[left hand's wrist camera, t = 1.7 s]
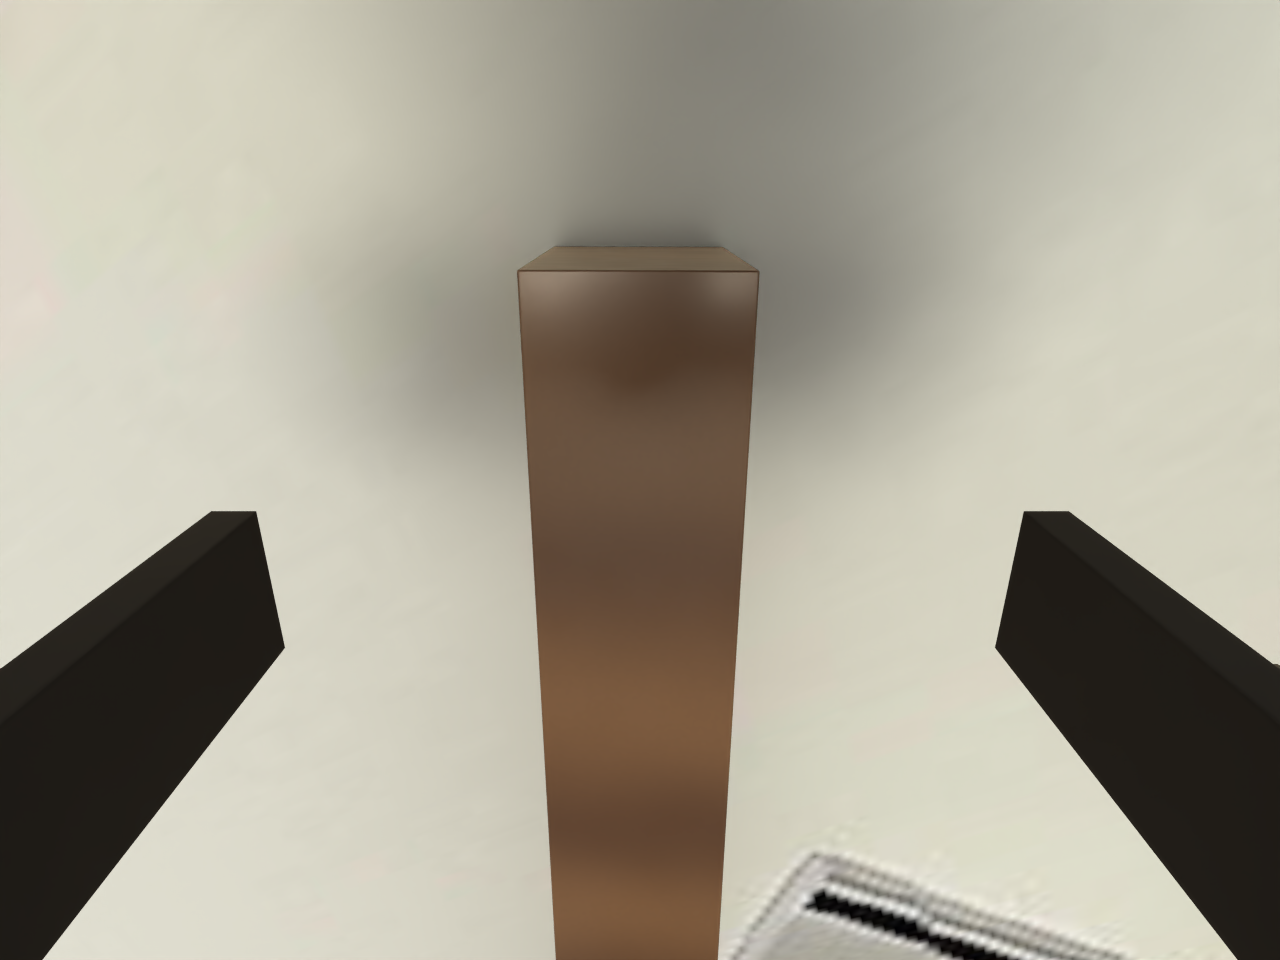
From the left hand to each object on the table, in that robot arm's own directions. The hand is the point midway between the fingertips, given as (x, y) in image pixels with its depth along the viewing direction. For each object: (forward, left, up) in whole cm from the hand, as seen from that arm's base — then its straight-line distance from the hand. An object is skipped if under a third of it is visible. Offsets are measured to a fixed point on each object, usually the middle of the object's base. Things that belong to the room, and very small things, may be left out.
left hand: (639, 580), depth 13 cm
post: (+30, +13, -16) cm, 37 cm away
